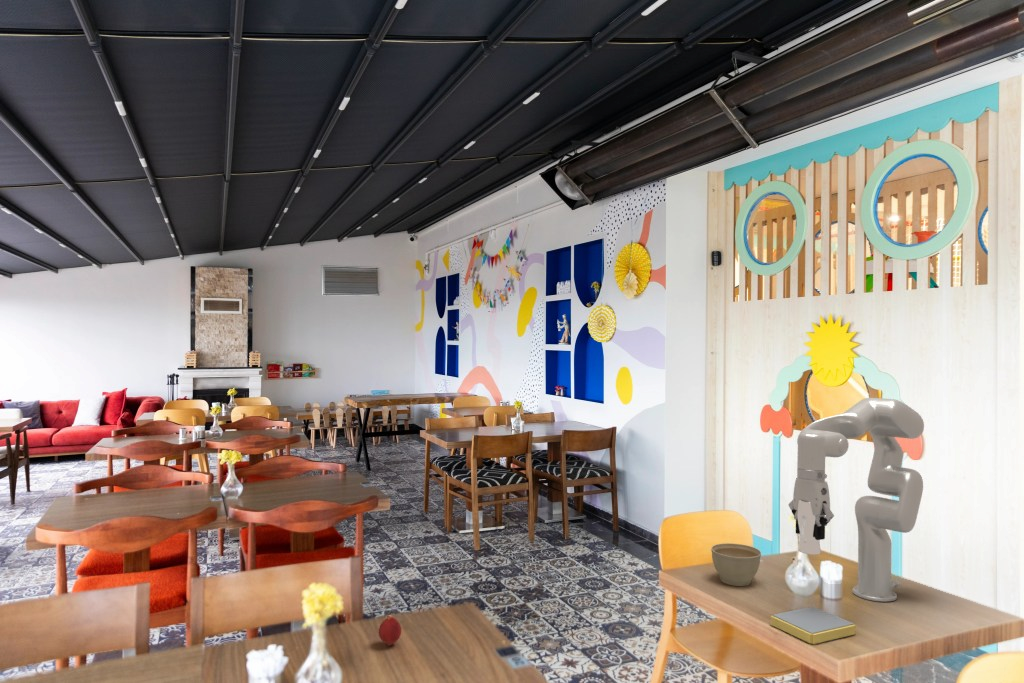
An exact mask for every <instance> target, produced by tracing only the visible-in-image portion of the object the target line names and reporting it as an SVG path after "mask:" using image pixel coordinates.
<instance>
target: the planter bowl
mask: <svg viewBox="0 0 1024 683" xmlns="http://www.w3.org/2000/svg"><path fill="white" fill-rule="evenodd" d="M710 551H711V558H712V564H713V566H714V569H715V570H716V572H717V574H718V575H719V577H720V581H721V582H723V583H724V584H726V585H730V586H733V587H746V586H749V585H751V582H752V580H753V578H755V576H756V574H757V573H758V570H759V568H760V564H761V557H762V552H761V550H760V549H758V548H756V547H753V546H750V545H747V544H739V543H732V542H731V543H729V542H726V543H725V542H724V543H718V544H714V545H712V546H711V548H710Z"/></svg>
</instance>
